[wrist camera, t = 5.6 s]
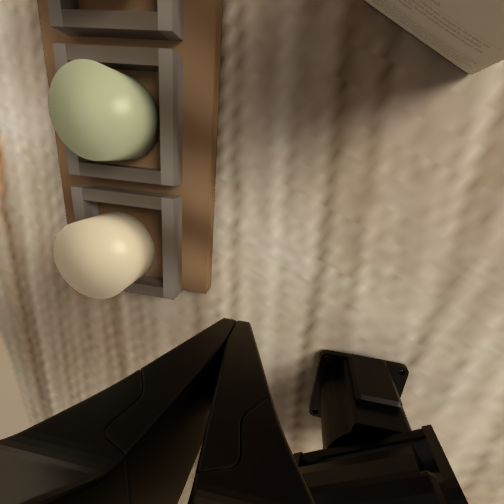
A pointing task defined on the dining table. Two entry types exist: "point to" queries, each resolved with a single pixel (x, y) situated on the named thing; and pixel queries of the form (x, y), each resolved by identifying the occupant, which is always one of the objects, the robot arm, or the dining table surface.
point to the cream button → (103, 254)
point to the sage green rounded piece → (102, 112)
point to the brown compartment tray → (170, 134)
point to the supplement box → (453, 28)
